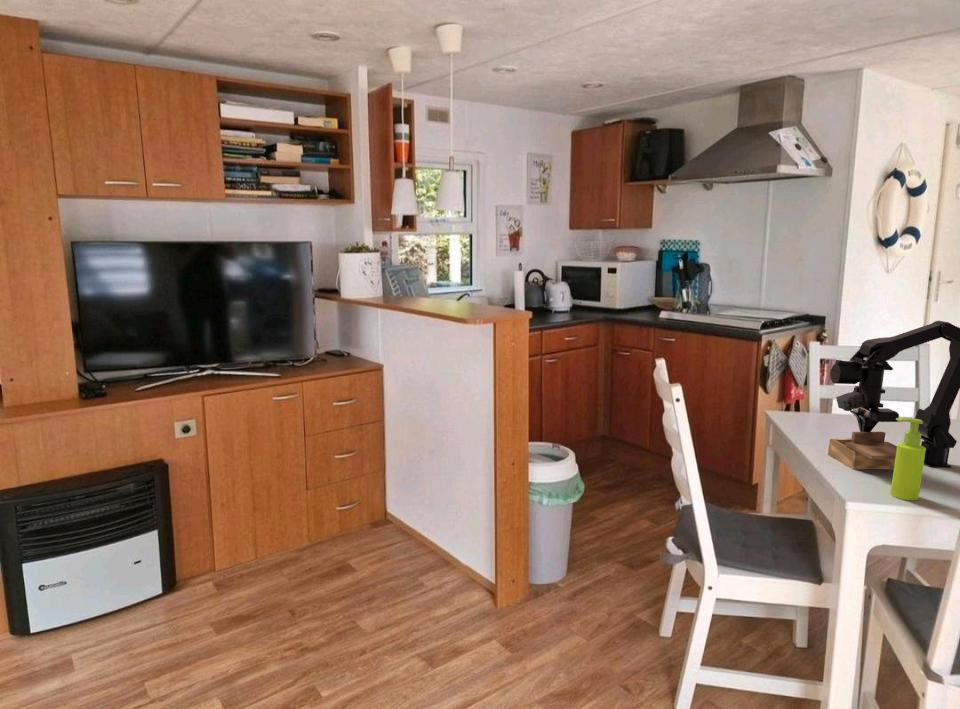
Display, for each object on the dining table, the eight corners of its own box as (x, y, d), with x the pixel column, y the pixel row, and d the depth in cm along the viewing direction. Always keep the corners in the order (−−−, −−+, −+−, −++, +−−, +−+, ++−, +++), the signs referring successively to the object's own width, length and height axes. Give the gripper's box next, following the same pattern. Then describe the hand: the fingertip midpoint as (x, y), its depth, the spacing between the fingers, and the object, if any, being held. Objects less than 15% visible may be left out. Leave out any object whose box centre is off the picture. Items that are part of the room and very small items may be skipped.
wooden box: (869, 454, 192) (871, 438, 191) (897, 468, 181) (900, 452, 180) (827, 454, 192) (829, 438, 191) (853, 469, 180) (855, 452, 179)
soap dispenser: (883, 489, 166) (893, 414, 162) (914, 493, 163) (925, 417, 160) (888, 497, 160) (899, 420, 157) (921, 502, 158) (933, 423, 154)
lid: (886, 445, 185) (888, 431, 184) (916, 458, 173) (918, 444, 173) (844, 445, 184) (846, 431, 183) (871, 459, 173) (873, 444, 172)
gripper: (824, 377, 191) (818, 427, 194) (864, 392, 173) (856, 447, 176) (860, 377, 192) (854, 427, 195) (903, 392, 173) (896, 447, 176)
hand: (863, 437), depth 185 cm, fingers closed
